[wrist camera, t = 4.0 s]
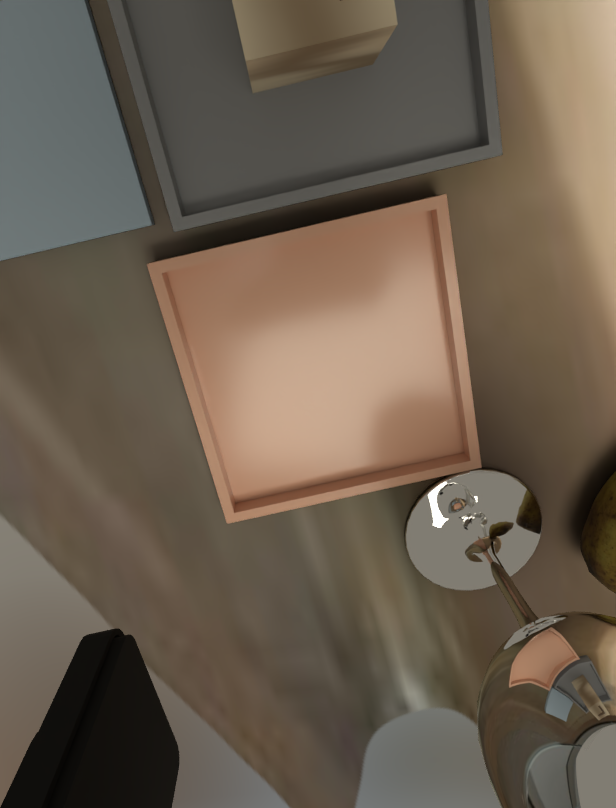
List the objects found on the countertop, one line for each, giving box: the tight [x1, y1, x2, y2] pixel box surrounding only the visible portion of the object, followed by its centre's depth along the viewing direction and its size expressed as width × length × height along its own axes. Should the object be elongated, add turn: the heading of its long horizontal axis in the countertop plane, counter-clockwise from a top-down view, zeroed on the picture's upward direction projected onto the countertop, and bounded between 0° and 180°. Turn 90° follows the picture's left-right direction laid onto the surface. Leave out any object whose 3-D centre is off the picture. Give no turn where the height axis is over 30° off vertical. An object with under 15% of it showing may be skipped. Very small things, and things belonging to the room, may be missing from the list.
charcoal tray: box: [107, 0, 503, 232], centre depth 21 cm, size 14×14×2 cm
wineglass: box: [405, 469, 616, 808], centre depth 21 cm, size 8×8×20 cm
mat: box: [0, 0, 155, 261], centre depth 23 cm, size 9×9×1 cm
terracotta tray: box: [147, 194, 482, 524], centre depth 26 cm, size 13×13×2 cm
